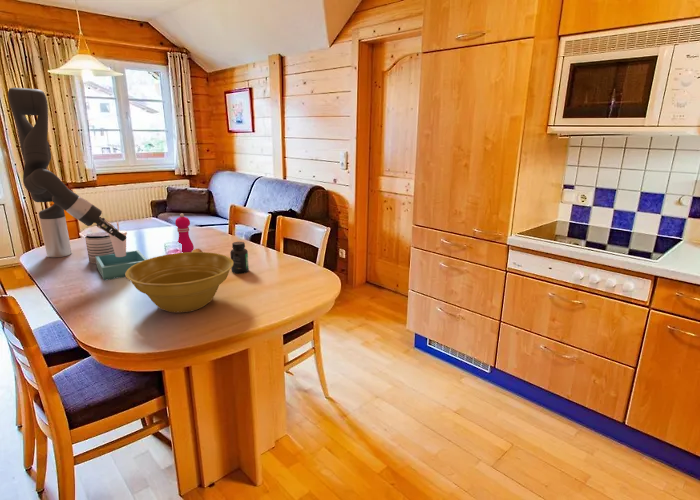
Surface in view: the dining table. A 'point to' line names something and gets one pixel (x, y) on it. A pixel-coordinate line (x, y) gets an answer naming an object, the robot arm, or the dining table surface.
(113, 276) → the tote
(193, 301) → the planter bowl
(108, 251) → the can
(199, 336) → the dining table surface
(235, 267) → the supplement bottle
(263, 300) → the dining table surface
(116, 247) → the smoothie
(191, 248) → the pepper mill
